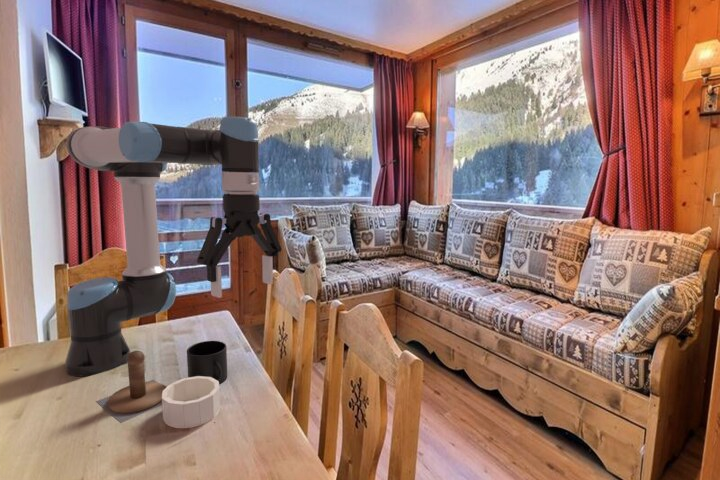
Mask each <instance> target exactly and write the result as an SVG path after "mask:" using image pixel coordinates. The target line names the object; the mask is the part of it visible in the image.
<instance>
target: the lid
mask: <svg viewBox="0 0 720 480" xmlns="http://www.w3.org/2000/svg"><path fill="white" fill-rule="evenodd" d="M126 364H127V369H128V370H127V371H128V382H129V385H128V386H125V387H122V388H120V389H119V390H117V391H115V392H114V393H112V394H111V395H112V396H111V395H110V396H111V397H110V398H109V400H108V408H109V410H110V411H112V412H114V413H118V414H132V413H138V412H142V411H145V410H148V409H150V408H153V407H155V406H156V405H158V404H160V403H161V402H162V392H163V390H164V389H165V388H166V387H167V386H166V385H165V384H163V383H160V382H158V381H156V382H148V381H146V375H145V354H144V352H143V351H141V350H132V351H130V353H129V355H128V356H127V363H126ZM157 382H158V383H157Z"/></svg>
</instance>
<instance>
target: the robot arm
mask: <svg viewBox="0 0 720 480" xmlns="http://www.w3.org/2000/svg"><path fill="white" fill-rule="evenodd" d="M257 123H258V122H257V121H256V120H254V119H253V118H250V117H246V116H245V117H243V116H224V117H222V118H221V120H220V124H219V129H203V128H202V129H201V128H195V127H194V128H193V127H187V126H186V127H184V126H173V125H164V124H158V123H157V124H156V123H151V122H147V121H127V122H124V123H123V125H122V126H121V127H109V126H108V127H106V126H100V125H99V126H97V125H96V126H95V125H93V126H92V125H90V126H83V127H79V128H76V129H75V130H73V131H71V133H70V134H69V135H68V137H67V140H66V149H67V152H68V154H69V155H68V156H70V158H71V159H72V160H73V161H74V162H76V163H77V164H78V165H80V166H82V167H85V168H86V169H90V170H95V171H101V172H102V171H103V172H113V178H114V180H116V181H117V182H119V184H120V188H121V200H122V202H121V203H122V213H123V227H124V240H125V252H126V263H127V264H126V268H125V269H124V270H123V271H122V272H121V277H122V280H118V279H117V278H116V277H112V276H104V277H97V278H92V279H88V280H84V281H82V282H79V283H76V284H74V285H73V286H72V287H71V288H69V289H68V291H67V297H66V299H67V300H66V301H67V303H66V309H67V312H68V313H67V315H68V320H69V321H68V323H69V332H70V334H69V335H70V344H69V349H68V352H67V355H66V357H65V363H64V365H65V372H66V373H67V374H68V375H71V376H74V377H76V376H77V377H89V376H94V375H96V374H100V373H104V372H108V371H111V370H114V369H117V368H119V367H121V366H123V365H126V364H128V363H127V356H128V355H129V353H131V350H130V347H129V345H128V343H127V341H126V340H125V337H124V335H123V333H122V323H123V322H126V321H132V320H137V319H139V318H144V317H147V316H151V315H158V314H159V313H162V312H165V311H168V310H169V309H170V308H171V307H172V306H173V305H174V304H175V303H174V302H175V299H176V295H177V293H176V292H177V286H176V282H175V279H174V277H173V276H172V274H171V273H169V272H167V268H166V267H164V266H163V265H162V264H161V255H160V254H161V253H160V241H159V240H160V239H159V225H158V210H157V196H156V194H157V193H156V183H158V181H160V179H161V173H163V172H165V171H166V169H167V167H168V164H186V165H187V164H189V165H202V166H208V167H209V166H214V165H215V166H216V165H217V166H218V165H220V166H221V185H222V186H221V189H222V191H223V192H225V193H224V194H223V195H222V209H223V211H224V216H223V217H217V216H212V217H210V220H209V221H210V222H209V228H208V231H207V234H206V236H205V239H204V242H203V244H202V246H201V250H200V252H199V254H198V257H197V259H196V262H197V264H199V265H200V264H201V265H204V266H206V277H207V281H208V282H210V293H211V294H210V295H211V296H212V297H215V298H219V299H220V298H222V297H223V290H222V289H223V287H222V266H221V265H218V264H219V263H220V262H221V260H222V258H223V257H224V255H225V253H226V252H227V251H228V250H229V249H228V248H229V247H230V245H231V244H232V242H233V241H234V240H236V238H242V237H245V236H246V237H249V236H251V237H252V238H253V240H254V241H255V242H256V245H258V246H259V248H260V249H261V250H262V252H263V253H264V254H263V255H262V256H261V258H262V260H261V261H262V263H261V264H262V268H261V269H262V283H264V284H268V285H273V284H274V281H273V279H274V277H273V274H274V272H273V271H274V269H275V266H276V265H275V257H277V256H278V255H279V253H281V251H282V247H281V244H280V241H279V239H278V237H277V235H276V233H275V230H274V227H273V225H272V222H271V215H270V214H269V213H263V212H262V213H261V212H260V213H258V212H259V211H260V195H259V193H257V192H259V191H260V173H259V172H260V169H259V168H260V167H259V166H260V164H259V161H260V160H259V159H260V158H259V157H260V156H259V150H260V149H259V145H260V144H259V141H260V138H259V131H258V130H259V128H258V124H257ZM258 224H259V225H260V228H261V229H260V228H259V226H258ZM224 227H225V228H224ZM223 228H224V230H223V231H222V229H223ZM262 232H263V233H262ZM220 235H221V236H220Z"/></svg>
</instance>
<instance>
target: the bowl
mask: <svg viewBox="0 0 720 480" xmlns="http://www.w3.org/2000/svg"><path fill="white" fill-rule="evenodd" d="M220 389H221V388H220V385H219V381H217V380H215V379H214V378H212V377H204V376H196V377H189V378H188V377H185V378H181V379H179V380H176V381H174V382H172V383H169V385H168V386H166V388H165V389H164V390H163V392H162V405H161V406H162V407H161V408H162V420H163V421H164V423H165V424H166V425H167V426H169V427H171V428H176V429H189V428H190V429H191V428H193V427H194V428H195V427H199V426H201V425H204V424H206V423H207V422H208V423H209V421H211V420H213V419H214V418H216V417H217V415H218V414H219V413H220V410H221V393H220V392H221V391H220Z"/></svg>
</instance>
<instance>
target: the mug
mask: <svg viewBox="0 0 720 480" xmlns="http://www.w3.org/2000/svg"><path fill="white" fill-rule="evenodd" d="M186 363H187V378H189V377H196V376H204V377H212V378H214V379H215V380H217V381H219V386H220V385H221V384H224V382H225V381H227V379H228V353H227V345H226V343H225V342H222V341H220V340H205V341H201V342H197V343H194V344H192V345H190V346H189V347H188V348H187V349H186Z"/></svg>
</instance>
